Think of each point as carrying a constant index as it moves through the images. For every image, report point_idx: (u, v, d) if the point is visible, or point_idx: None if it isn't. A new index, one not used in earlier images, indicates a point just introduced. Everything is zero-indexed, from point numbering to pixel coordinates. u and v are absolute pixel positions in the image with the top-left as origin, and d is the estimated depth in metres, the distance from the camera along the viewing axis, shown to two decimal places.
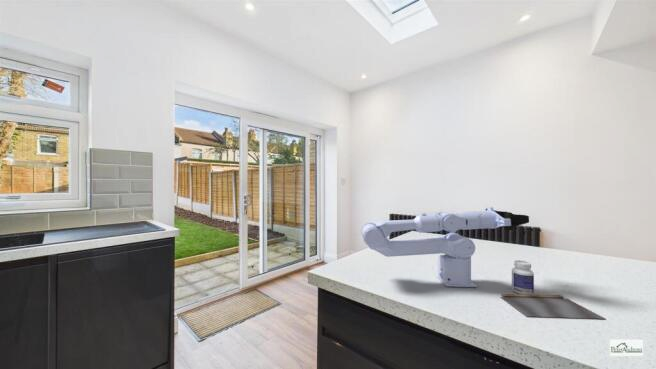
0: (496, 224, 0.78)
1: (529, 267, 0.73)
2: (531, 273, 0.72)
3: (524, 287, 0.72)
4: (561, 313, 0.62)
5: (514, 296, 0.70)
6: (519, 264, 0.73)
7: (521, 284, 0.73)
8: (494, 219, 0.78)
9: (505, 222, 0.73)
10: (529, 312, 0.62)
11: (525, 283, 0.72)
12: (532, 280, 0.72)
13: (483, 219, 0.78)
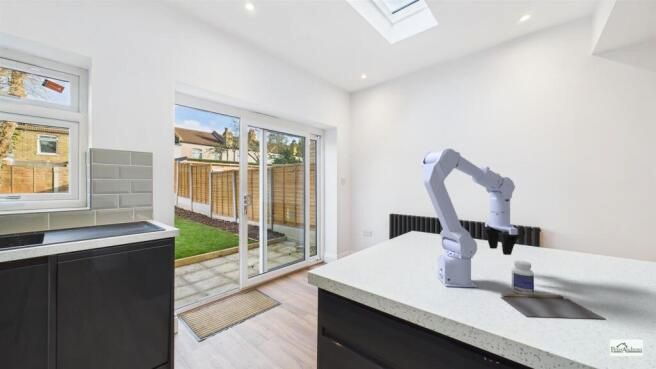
0: None
1: (529, 267, 0.73)
2: (531, 273, 0.72)
3: (524, 287, 0.72)
4: (561, 313, 0.62)
5: (514, 296, 0.70)
6: (519, 264, 0.73)
7: (521, 284, 0.73)
8: (506, 225, 0.82)
9: (514, 229, 0.78)
10: (529, 312, 0.62)
11: (525, 283, 0.72)
12: (532, 280, 0.72)
13: (506, 215, 0.82)
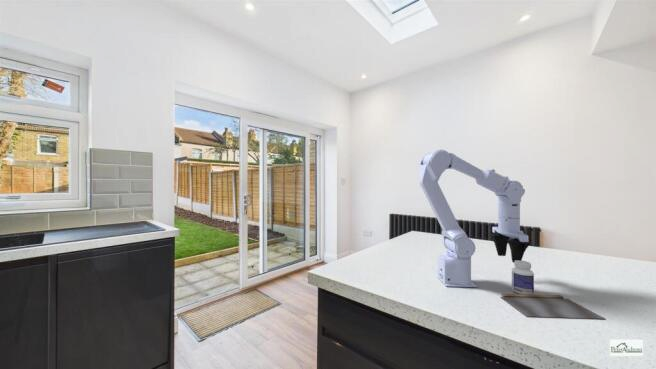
0: None
1: (529, 267, 0.73)
2: (531, 273, 0.72)
3: (524, 287, 0.72)
4: (561, 313, 0.62)
5: (514, 296, 0.70)
6: (519, 264, 0.73)
7: (521, 284, 0.73)
8: (516, 231, 0.78)
9: (525, 236, 0.73)
10: (529, 312, 0.62)
11: (525, 283, 0.72)
12: (532, 280, 0.72)
13: (516, 221, 0.78)
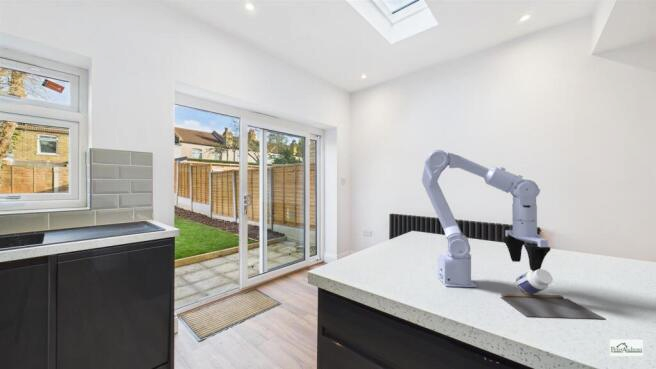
0: None
1: (548, 284, 0.66)
2: (545, 287, 0.67)
3: (529, 292, 0.70)
4: (561, 313, 0.62)
5: (514, 296, 0.70)
6: (539, 280, 0.66)
7: (528, 290, 0.70)
8: (533, 235, 0.71)
9: (544, 241, 0.66)
10: (529, 312, 0.62)
11: (532, 291, 0.69)
12: (541, 290, 0.69)
13: (533, 224, 0.71)
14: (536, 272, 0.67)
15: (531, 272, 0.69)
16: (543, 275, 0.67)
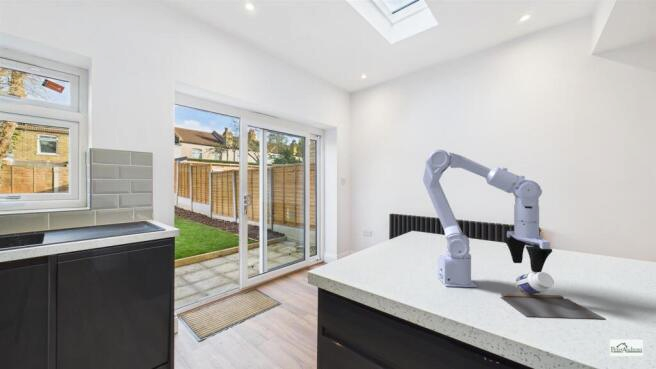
0: None
1: None
2: (546, 290, 0.67)
3: (529, 293, 0.70)
4: (561, 313, 0.62)
5: (514, 296, 0.70)
6: (540, 284, 0.66)
7: (528, 291, 0.70)
8: (535, 237, 0.70)
9: (546, 243, 0.66)
10: (529, 312, 0.62)
11: (532, 292, 0.69)
12: (541, 291, 0.69)
13: (535, 225, 0.70)
14: (537, 275, 0.67)
15: (532, 274, 0.69)
16: (544, 278, 0.66)
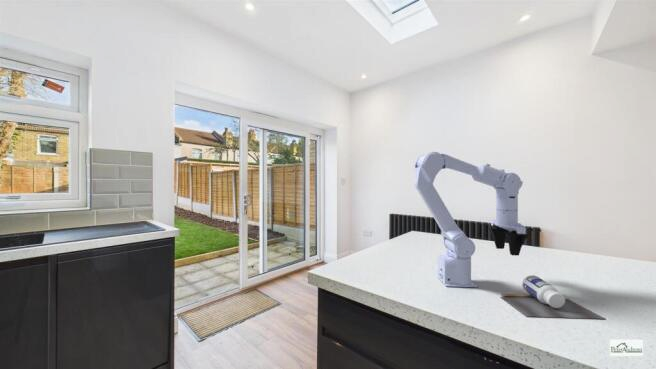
0: None
1: None
2: None
3: None
4: (561, 313, 0.62)
5: (514, 296, 0.70)
6: (548, 302, 0.64)
7: (530, 293, 0.69)
8: (513, 224, 0.77)
9: (522, 228, 0.73)
10: (529, 312, 0.62)
11: None
12: None
13: (514, 213, 0.77)
14: (551, 295, 0.63)
15: (547, 289, 0.65)
16: (556, 300, 0.63)
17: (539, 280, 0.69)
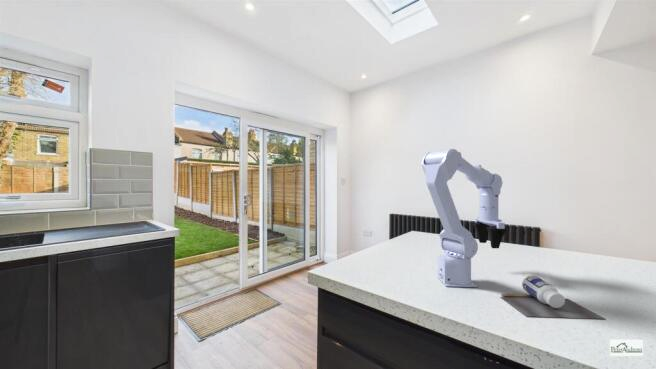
0: None
1: None
2: None
3: None
4: (561, 313, 0.62)
5: (514, 296, 0.70)
6: (548, 302, 0.64)
7: (530, 293, 0.69)
8: (494, 220, 0.85)
9: (501, 224, 0.81)
10: (529, 312, 0.62)
11: None
12: None
13: (495, 210, 0.86)
14: (551, 296, 0.63)
15: (547, 289, 0.65)
16: (556, 300, 0.63)
17: (539, 280, 0.69)
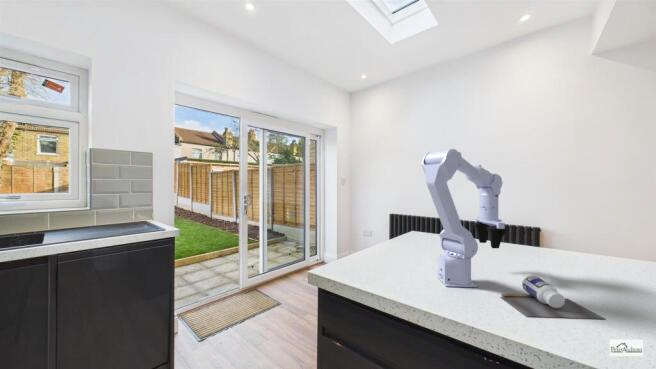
0: None
1: None
2: None
3: None
4: (561, 313, 0.62)
5: (514, 296, 0.70)
6: (548, 302, 0.64)
7: None
8: (494, 220, 0.85)
9: (501, 224, 0.81)
10: (529, 312, 0.62)
11: None
12: None
13: (495, 210, 0.86)
14: (551, 296, 0.63)
15: (547, 289, 0.65)
16: (556, 300, 0.63)
17: (539, 280, 0.69)
